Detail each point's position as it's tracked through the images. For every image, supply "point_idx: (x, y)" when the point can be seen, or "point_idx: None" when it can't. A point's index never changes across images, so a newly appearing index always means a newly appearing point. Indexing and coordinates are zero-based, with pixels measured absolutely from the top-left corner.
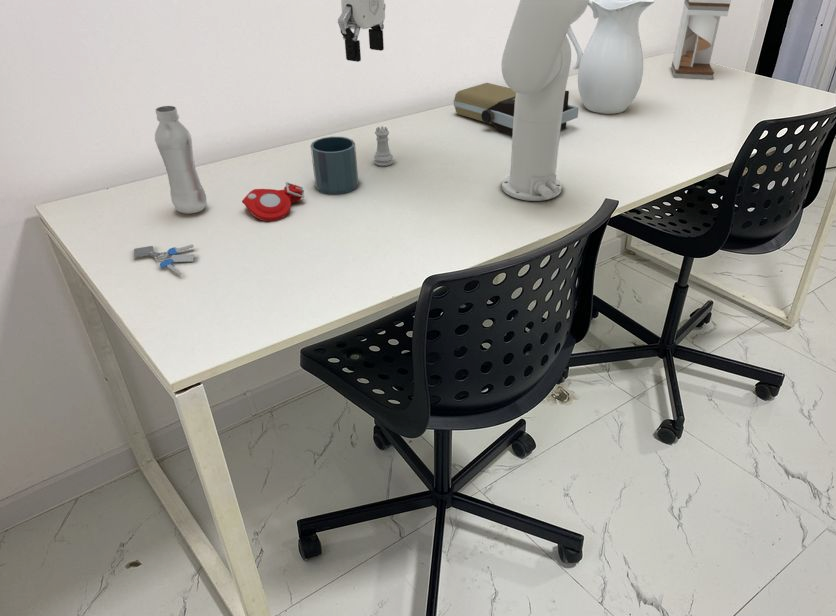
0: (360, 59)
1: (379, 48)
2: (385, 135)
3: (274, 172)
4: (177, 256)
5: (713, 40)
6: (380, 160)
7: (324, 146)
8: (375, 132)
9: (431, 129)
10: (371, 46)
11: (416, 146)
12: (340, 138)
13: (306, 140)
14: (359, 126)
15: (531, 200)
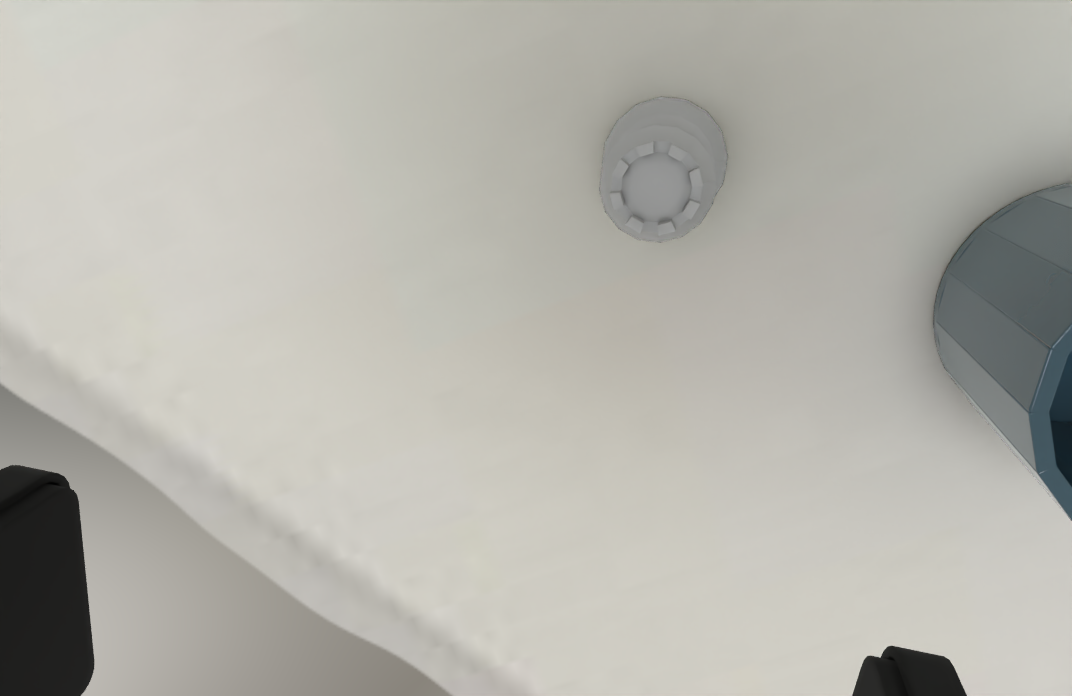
0: (918, 659)
1: (57, 533)
2: (693, 141)
3: None
4: None
5: None
6: (725, 161)
7: (1070, 484)
8: (684, 230)
9: (58, 68)
10: (60, 680)
11: (342, 58)
12: (1052, 400)
13: (480, 660)
14: (204, 480)
15: None
